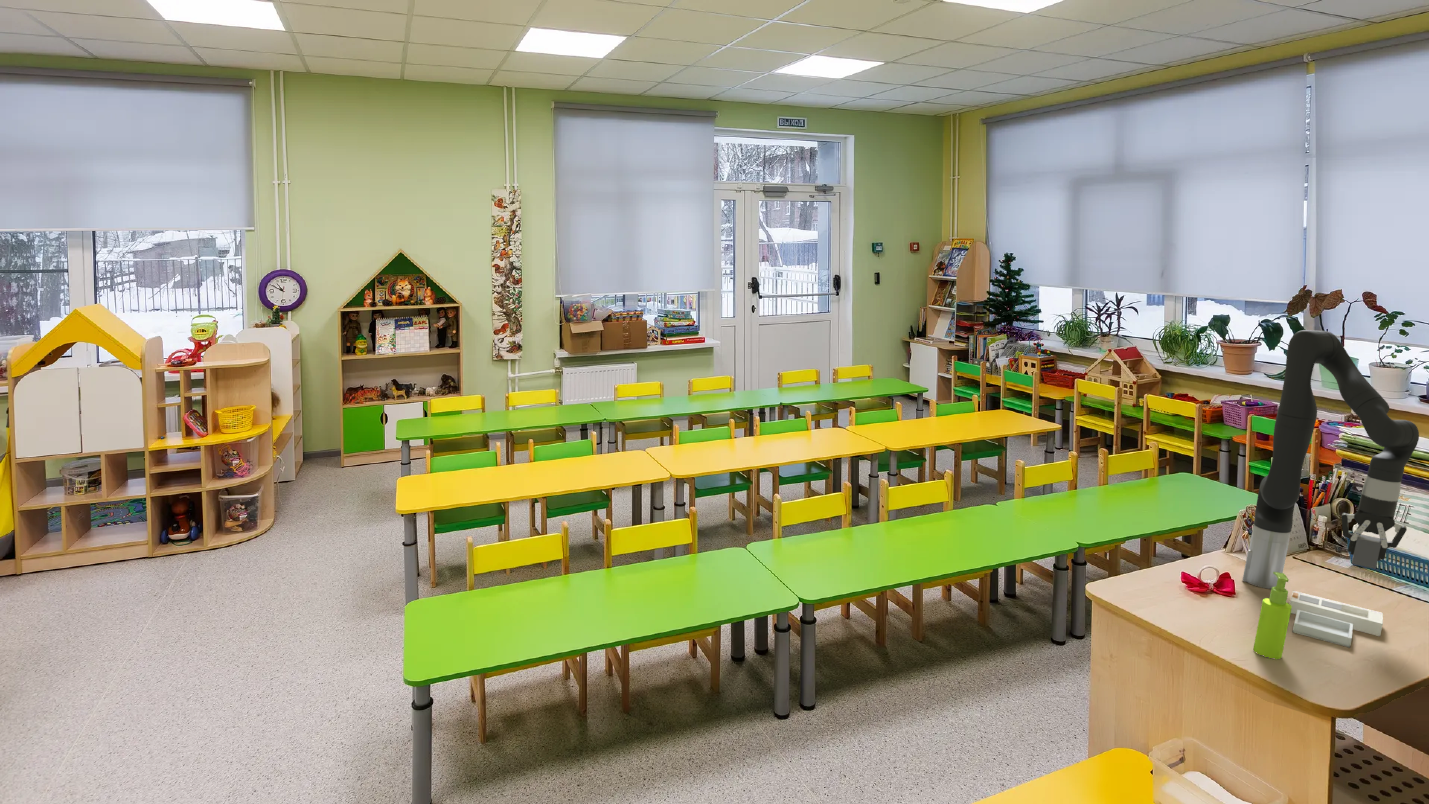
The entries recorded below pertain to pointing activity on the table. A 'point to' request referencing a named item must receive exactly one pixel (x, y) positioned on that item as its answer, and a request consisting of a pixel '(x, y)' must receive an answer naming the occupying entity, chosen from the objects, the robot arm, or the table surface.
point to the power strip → (1339, 612)
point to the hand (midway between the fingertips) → (1365, 556)
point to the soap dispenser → (1273, 621)
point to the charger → (1366, 551)
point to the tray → (1323, 628)
